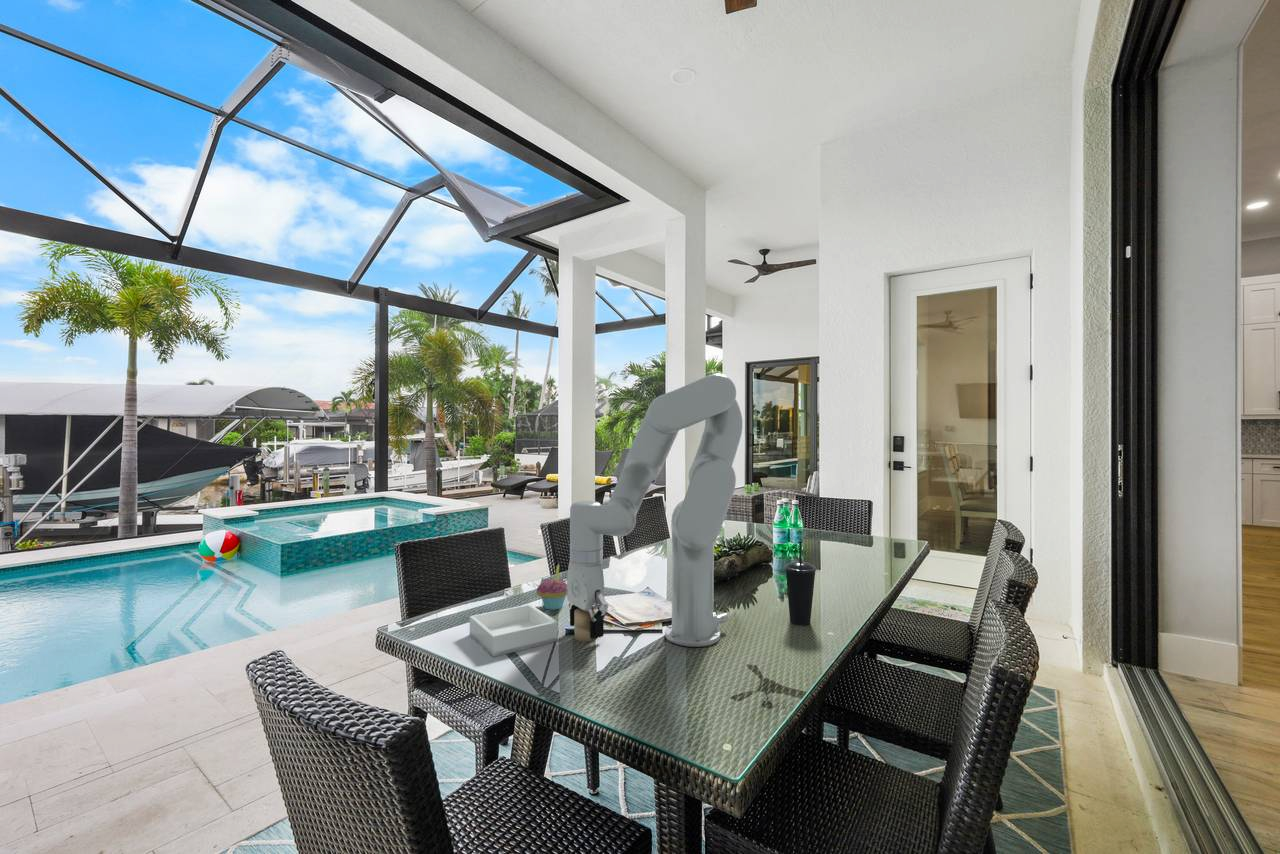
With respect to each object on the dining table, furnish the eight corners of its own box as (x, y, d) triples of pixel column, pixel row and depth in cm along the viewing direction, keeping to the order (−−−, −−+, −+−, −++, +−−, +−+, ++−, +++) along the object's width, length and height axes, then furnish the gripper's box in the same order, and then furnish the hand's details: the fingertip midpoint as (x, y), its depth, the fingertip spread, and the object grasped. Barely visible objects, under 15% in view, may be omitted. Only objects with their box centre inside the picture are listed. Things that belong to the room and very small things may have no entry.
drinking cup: (782, 625, 136) (782, 543, 136) (786, 614, 143) (786, 536, 143) (814, 629, 133) (815, 545, 133) (817, 619, 140) (817, 539, 140)
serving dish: (529, 621, 138) (529, 603, 138) (557, 640, 126) (557, 621, 125) (469, 634, 129) (469, 616, 129) (493, 657, 117) (493, 636, 117)
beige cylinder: (590, 630, 132) (590, 605, 132) (602, 638, 127) (602, 611, 127) (570, 635, 129) (570, 609, 129) (581, 643, 124) (581, 616, 124)
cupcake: (575, 605, 150) (575, 560, 150) (554, 614, 143) (554, 567, 143) (551, 599, 154) (551, 556, 154) (529, 608, 147) (529, 563, 147)
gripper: (554, 550, 133) (554, 623, 133) (591, 566, 119) (591, 647, 119) (582, 546, 137) (581, 616, 137) (620, 561, 123) (620, 639, 123)
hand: (586, 630), depth 128 cm, fingers open, 8 cm apart
